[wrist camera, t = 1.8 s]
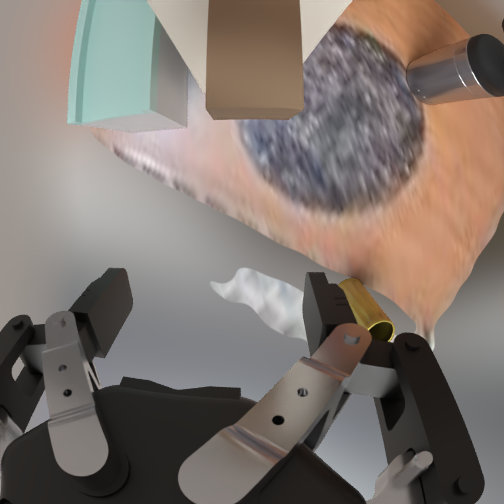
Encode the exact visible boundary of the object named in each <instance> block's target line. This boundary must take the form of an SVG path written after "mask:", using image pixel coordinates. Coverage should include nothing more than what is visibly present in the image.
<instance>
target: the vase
mask: <svg viewBox="0 0 504 504" xmlns="http://www.w3.org/2000/svg"><path fill="white" fill-rule="evenodd" d="M338 286H339V287H340V288H342V289H343V290H344V293H345V295H346V297H347V299H348V302H349V305H350V306H351V309H352V311H353V313H354V316H355V318H356V321H357V323H358V325H361V326H363V327H364V328H366V329H367V330H368V331H369V332H370V334H371V336H372V339H375V340H379V341H385V342H390V341H391V340H392V338H393V336H394V333H395V327H394V324H393V323H392V322H391V320H390V319H389V318H388V317H387V316H386V314H385V313H384V312H383V310H382V309H381V308H380V307H379V305H378V304H377V303H376V301H375V300H374V299H373V298H372V296H371V295H370V294H369V292H368V291H367V290H366V288H365V287H364V285H363V283H362V282H361V281H359V280H358V279H354V278H349V279H346V280H344V281H342V282H341V283H340V284H339V285H338Z"/></svg>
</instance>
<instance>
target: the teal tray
mask: <svg viewBox="0 0 504 504" xmlns="http://www.w3.org/2000/svg"><path fill="white" fill-rule="evenodd" d="M160 35H161V22H160V21H159V19H158V18H157V16H156V15H155V13H154V11H153V10H152V8H151V7H150V5H149V4H148V2H147V0H82V3H81V7H80V12H79V17H78V22H77V27H76V33H75V39H74V46H73V54H72V61H71V70H70V81H69V95H68V118H67V124H74V125H82V124H87V123H92V122H97V121H103V120H109V119H114V118H121V117H127V116H134V115H142V114H150V113H157V88H158V64H159V48H160Z"/></svg>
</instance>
